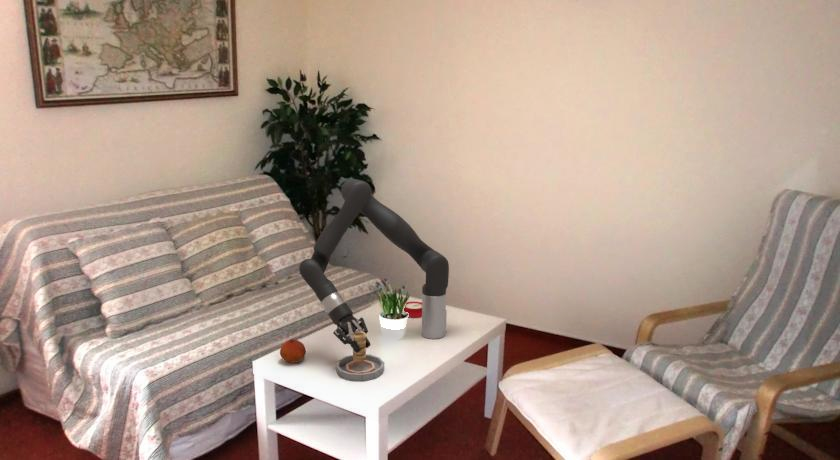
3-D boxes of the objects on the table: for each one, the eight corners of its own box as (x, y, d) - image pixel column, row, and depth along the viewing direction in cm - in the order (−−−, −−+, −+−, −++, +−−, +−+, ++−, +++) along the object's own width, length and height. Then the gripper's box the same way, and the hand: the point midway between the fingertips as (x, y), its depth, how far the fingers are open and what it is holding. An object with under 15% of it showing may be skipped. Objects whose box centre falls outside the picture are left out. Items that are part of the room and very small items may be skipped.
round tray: (357, 356, 236) (357, 350, 236) (392, 368, 227) (392, 361, 227) (327, 372, 224) (327, 366, 223) (363, 385, 215) (363, 378, 214)
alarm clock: (396, 303, 281) (428, 292, 284) (399, 316, 282) (431, 305, 286) (402, 311, 271) (436, 300, 274) (406, 325, 273) (439, 314, 276)
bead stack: (358, 354, 227) (358, 330, 225) (368, 358, 225) (368, 333, 223) (350, 359, 224) (350, 334, 222) (360, 362, 221) (360, 337, 219)
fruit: (291, 368, 226) (290, 347, 224) (275, 361, 232) (274, 340, 230) (311, 360, 233) (310, 339, 231) (296, 353, 238) (295, 333, 237)
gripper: (328, 308, 218) (356, 350, 215) (356, 296, 230) (383, 337, 226) (316, 319, 223) (344, 361, 219) (344, 307, 234) (371, 347, 230)
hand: (363, 348), depth 222 cm, fingers closed on bead stack, 4 cm apart
